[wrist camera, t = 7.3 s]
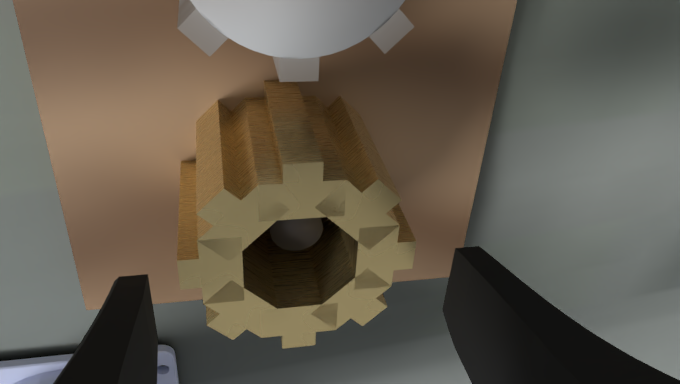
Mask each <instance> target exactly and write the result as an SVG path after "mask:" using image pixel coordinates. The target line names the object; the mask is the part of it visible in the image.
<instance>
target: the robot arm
mask: <svg viewBox="0 0 680 384" xmlns="http://www.w3.org/2000/svg"><path fill="white" fill-rule="evenodd" d="M443 313H444V316H445V319H446V322H447V326H448V329H449V332H450V335H451V338H452V341H453V343H454V346H455V349H456V351H457V353H458V355H459V357H460V359H461V361H462V364H463V366H464V368H465V370H466V372H467V374H468V376H469V378H470V380H471V382H472V384H680V380H677V379H675V378H673V377H671V376H669V375H667V374H665V373H663V372H661V371H659V370H657V369H655V368H653V367H651V366H649V365H647V364H645V363H643V362H641V361H639V360H637V359H636V358H634V357H632V356H630V355H628V354H627V353H625V352H623V351H621V350H620V349H618V348H616V347H615V346H613V345H611V344H610V343H608V342H606V341H605V340H603V339H601V338H600V337H598V336H596V335H595V334H593V333H592V332H590V331H589V330H587V329H586V328H584V327H583V326H581V325H580V324H578V323H577V322H575V321H574V320H573V319H571V318H570V317H568V316H567V315H565V314H564V313H563V312H561V311H560V310H558V309H557V308H556V307H554V306H553V305H552V304H550V303H549V302H548V301H546V300H545V299H544V298H542V297H541V296H540V295H539V294H537V293H536V292H535V291H534V290H532V289H531V288H530V287H528V286H527V285H526V284H525V283H523V282H522V281H521V280H520V279H519V278H517V277H516V276H515V275H514V274H512V273H511V272H510V271H509V270H508V269H506V268H505V267H504V266H503V265H501V264H500V263H499V262H498V261H497V260H495V259H494V258H493V257H492V256H490V255H489V254H488V253H487V252H485V251H484V250H483V249H482V248H480V247H479V246H476V247H464V248H455V252H454V257H453V261H452V266H451V271H450V276H449V281H448V286H447V291H446V295H445V300H444V305H443ZM160 365H166V366H160ZM0 384H179V379H178V371H177V364H176V356H175V351H174V349H173V348H171V347H170V346H167V345H158V337H157V331H156V324H155V317H154V311H153V304H152V298H151V291H150V285H149V278H148V274H144V275H132V276H120V277H118V278H117V279H116V280H115V281H114V283H113V285H112V287H111V290H110V292H109V294H108V296H107V298H106V300H105V302H104V304H103V305H102V307H101V309H100V311H99V313H98V315H97V316H96V318H95V320H94V322H93V323H92V325H91V327H90V328H89V330H88V332H87V333H86V335H85V337H84V338H83V340H82V341H81V343H80V345H79V346H78V348H77V350H76V351H75V353H74V354H66V355H56V356H46V357H37V358H27V359H17V360H8V361H0Z"/></svg>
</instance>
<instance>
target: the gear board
mask: <svg viewBox="0 0 680 384" xmlns="http://www.w3.org/2000/svg"><path fill="white" fill-rule="evenodd" d="M13 4H14V8H15V12H16V16H17V20H18V25H19V29H20V33H21V37H22V41H23V46H24V50H25V54H26V58H27V62H28V67H29V71H30V75H31V79H32V83H33V88H34V92H35V96H36V100H37V104H38V109H39V113H40V117H41V121H42V126H43V130H44V134H45V138H46V142H47V147H48V151H49V155H50V159H51V163H52V168H53V172H54V176H55V180H56V184H57V189H58V193H59V197H60V201H61V205H62V210H63V214H64V218H65V222H66V226H67V231H68V235H69V239H70V243H71V247H72V252H73V256H74V260H75V264H76V268H77V273H78V277H79V281H80V285H81V289H82V294H83V298H84V302H85V306H86V310H93V309H101V307H102V305H103V304H104V302H105V300H106V298H107V296H108V294H109V292H110V290H111V287H112V285H113V283H114V281H115V280H116V279H117V278H118V277H120V276H132V275H144V274H148V278H149V285H150V291H151V298H152V304H159V303H170V302H181V301H192V300H203V295H202V288H194V289H183V290H180V282H179V274H178V266H177V245H178V219H179V194H180V169H181V161H196V121H197V120H198V119H199V118H200V117H201V116H202V115H203V114H204V113H205V112H206V111H207V110H208V109H209V108H210V107H211V106H212V105H213V104H214V103H215V102H216V101H217V100H219V101H220V102H221V103H222V104H224V105H225V106H226V107H227V108H228V109H230V110H231V111H232V110H233V109H234V108H235V107H236V106H237V105H238V104H239V103H240V102H241V101H242V100H243V99H244V98H255V97H264V81H268V80H279V81H280V82H297V84H298V87H299V90H300V93H301V96H316V97H317V98H318V99H319V100H320V101H321V102H322V103H323V104H324V105H326V106H327V107H328V106H329V105H331V104H332V103H333V102H334V101H335V100H336V99H337V98H338V97H339V96H341V97H342V98H343V99H344V100H345V101H346V102H347V103H348V104H349V105H350V106H351V107H352V108H353V109H354V110H356V111H357V112H358V113H359V114H360V116H361V118H362V120H363V122H364V124H365V126H366V128H367V130H368V132H369V134H370V136H371V138H372V140H373V142H374V144H375V146H376V149H377V151H378V153H379V155H380V157H381V159H382V161H383V163H384V165H385V167H386V169H387V171H388V173H389V175H390V177H391V179H392V181H393V183H394V185H395V187H396V189H397V191H398V193H399V195H400V198H401V200H402V201H400V202H399V206H400V208H401V210H402V212H403V214H404V216H405V218H406V220H407V222H408V224H409V226H410V229H411V231H412V233H413V235H414V237H415V239H416V241H417V242H416V248H415V254H414V261H413V267H412V269H404V270H394V271H393V278H392V282H401V281H412V280H423V279H434V278H445V277H449V276H450V271H451V266H452V261H453V257H454V252H455V248H463V246H464V242H465V237H466V233H467V228H468V224H469V219H470V214H471V210H472V205H473V201H474V196H475V192H476V187H477V182H478V178H479V173H480V169H481V164H482V159H483V155H484V150H485V146H486V141H487V137H488V132H489V127H490V123H491V118H492V114H493V109H494V105H495V100H496V95H497V91H498V86H499V82H500V77H501V73H502V68H503V63H504V59H505V54H506V50H507V45H508V41H509V36H510V31H511V27H512V22H513V18H514V13H515V8H516V4H517V0H13ZM322 231H323V224H322V220H321V217H319V218H305V219H291V220H277V221H276V222H275V223H274V224H273V225H271V226H270V234H271V238H272V240H273V242H274V243H275V244H276V245H277V246H278V247H280V248H282V249H285V250H289V251H299V250H303V249H306V248H308V247H310V246H312V245H313V244H315V243H316V242H317V241H318V239H319V238H320V236H321V234H322Z"/></svg>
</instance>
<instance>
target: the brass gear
mask: <svg viewBox="0 0 680 384" xmlns="http://www.w3.org/2000/svg"><path fill="white" fill-rule="evenodd" d="M400 201H402V200H401V198H400V195H399V193H398V191H397V189H396V187H395V185H394V183H393V181H392V179H391V177H390V175H389V173H388V171H387V169H386V167H385V165H384V163H383V161H382V159H381V157H380V155H379V153H378V151H377V149H376V146H375V144H374V142H373V140H372V138H371V136H370V134H369V132H368V130H367V128H366V126H365V124H364V122H363V120H362V118H361V116H360V114H359V113H358V112H357V111H356V110H354V109H353V108H352V107H351V106H350V105H349V104H348V103H347V102H346V101H345V100H344V99H343V98H342V97H341V96H339V97H338V98H337V99H336V100H335V101H334V102H333V103H332V104H331V105H329V106H328V107H327V106H326V105H324V104H323V103H322V102H321V101H320V100H319V99H318V98H317V97H316V96H301V93H300V90H299V87H298V84H297V82H280V81H279V80H268V81H264V97H255V98H244V99H243V100H242V101H241V102H240V103H239V104H238V105H237V106H236V107H235V108H234V109H233V110H232V111H231V110H230V109H228V108H227V107H226V106H225V105H224V104H222V103H221V102H220V101H219V100H217V101H216V102H215V103H214V104H213V105H212V106H211V107H210V108H209V109H208V110H207V111H206V112H205V113H204V114H203V115H202V116H201V117H200V118H199V119H198V120H197V121H196V161H181V169H180V194H179V219H178V245H177V266H178V274H179V282H180V290H183V289H194V288H202V295H203V304H204V305H206V317H207V326H209V327H210V328H212V329H214V330H216V331H218V332H219V333H221V334H223V335H225V336H227V337H228V338H230V339H232V340H234V339H235V338H237V337H238V336H239V335H240V334H241V333H243V332H244V331H245V330H246V329H247V330H249V331H251V332H252V333H254V334H256V335H258V336H259V337H261V338H266V337H275V336H280V337H281V343H282V349H284V348H293V347H302V346H311V345H315V341H316V332H322V331H331V330H336V329H338V328H339V327H340V326H341V325H343V324H344V323H345V322H347V321H348V320H349V319H350V318H351V319H353V320H354V321H355V322H357V323H358V324H360V325H361V326H364V325H365V324H366V323H367V322H369V321H370V320H371V319H373V318H374V317H375V316H376V315H378V314H379V313H380V312H382V311H383V310H384V309H385V308H387V304H386V301H385V299H384V296H383V292H385V291H386V290H387V289H389V288H390V287H391V286H392V278H393V271H394V270H404V269H412V267H413V261H414V254H415V248H416V242H417V241H416V239H415V237H414V235H413V233H412V231H411V229H410V226H409V224H408V222H407V220H406V218H405V216H404V214H403V212H402V210H401V208H400V206H399V202H400ZM319 217H321V220H322V224H323V231H322V234H321V236H320V238H319V239H318V241H317V242H316V243H315V244H313V245H312V246H310V247H308V248H306V249H303V250H299V251H289V250H285V249H282V248H280V247H278V246H277V245H276V244H275V243H274V242H273V240H272V238H271V234H270V226H271V225H273V224H274V223H275V222H276V221H277V220H291V219H305V218H319Z"/></svg>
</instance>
